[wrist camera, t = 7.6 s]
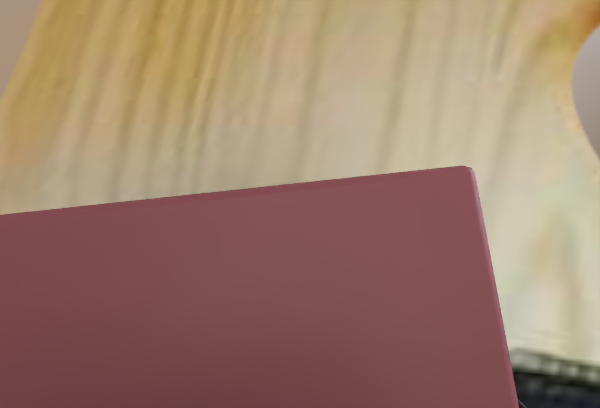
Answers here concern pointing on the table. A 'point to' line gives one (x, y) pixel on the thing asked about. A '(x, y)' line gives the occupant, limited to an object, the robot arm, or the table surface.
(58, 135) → the table surface
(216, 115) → the table surface
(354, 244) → the pink box
